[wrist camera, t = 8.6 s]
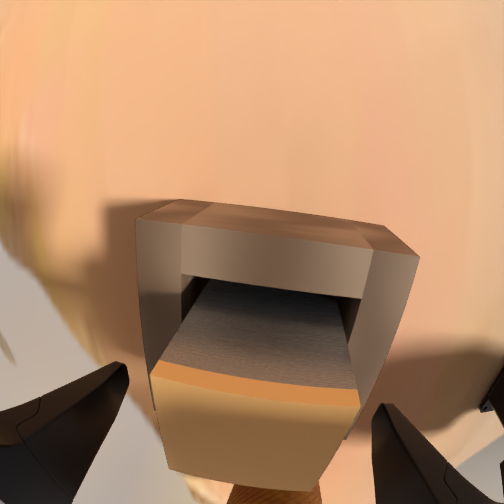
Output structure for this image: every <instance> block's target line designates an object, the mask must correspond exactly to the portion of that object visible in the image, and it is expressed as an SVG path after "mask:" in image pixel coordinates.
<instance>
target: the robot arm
mask: <svg viewBox="0 0 504 504" xmlns="http://www.w3.org/2000/svg"><path fill="white" fill-rule="evenodd" d="M128 386H129V375H128V371H127V366H126V365H125V364H124V363H121V362H117V361H115V362H112V363H110V364H108V365H106V366H104V367H102V368H100V369H98V370H96V371H94V372H92V373H90V374H88V375H86V376H84V377H81V378H79V379H77V380H75V381H73V382H71V383H69V384H67V385H65V386H62V387H60V388H58V389H56V390H54V391H51V392H49V393H47V394H45V395H43V396H41V397H38V398H36V399H34V400H31V401H29V402H27V403H24V404H22V405H19V406H16V407H13V408H10V409H7V410H4V411H0V504H72V502H73V499H74V497H75V495H76V493H77V491H78V489H79V487H80V485H81V483H82V481H83V479H84V478H85V476H86V473H87V471H88V469H89V468H90V466H91V464H92V462H93V460H94V458H95V456H96V454H97V452H98V450H99V449H100V446H101V445H102V443H103V441H104V439H105V437H106V435H107V433H108V432H109V430H110V428H111V426H112V424H113V422H114V420H115V418H116V416H117V414H118V411H119V409H120V406H121V404H122V401H123V399H124V396H125V394H126V391H127V389H128ZM479 410H480V412H481V413H483V412H488V411H493V410H494V411H495V413H496V414H497V416H498V418H499V420H500V422H501V424H502V426H503V428H504V368H503V370H502V372H501V373H500V375H499V377H498V378H497V380H496V382H495V383H494V385H493V387H492V388H491V390H490V391H489V393H488V394H487V396H486V397H485V399H484V400H483V402H482V403H481V405H480V406H479ZM372 466H373V475H374V486H375V498H376V504H504V503H498V502H495V501H493V500H491V499H490V498H488V497H487V496H486V495H485V494H483V493H482V492H481V491H479V490H478V489H477V488H476V487H475V486H473V485H472V484H471V483H470V482H469V481H468V480H466V479H465V478H464V477H463V476H462V475H461V474H460V473H459V472H458V471H457V470H456V469H455V468H454V467H453V466H452V465H451V464H450V463H449V462H447V460H446V459H445V458H444V457H443V456H442V455H441V454H440V453H439V452H438V451H437V450H436V449H435V447H434V446H433V445H432V444H431V443H430V442H429V441H428V440H427V439H426V438H425V437H424V436H423V435H422V434H421V433H420V432H419V431H418V430H417V429H416V428H415V426H414V425H413V424H412V423H411V422H410V421H409V420H408V419H407V418H406V417H405V416H404V415H403V414H402V413H401V412H400V411H399V410H398V409H397V408H396V407H395V405H394V404H392V403H381V404H380V405H379V407H378V409H377V411H376V412H375V414H374V416H373V418H372ZM500 469H501V476H502V485H503V494H504V460H503V461H502V462H501V463H500Z"/></svg>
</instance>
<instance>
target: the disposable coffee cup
mask: <svg viewBox="0 0 504 504" xmlns="http://www.w3.org/2000/svg"><path fill="white" fill-rule="evenodd" d="M227 504H322V499H321V493H320V487H319V480H318V482H317V483H316V485H315V486H314V488H313V489H312V491H311V492H307V491H289V490H277V489H267V488H258V487H251V486H244V485H238V484H234V486H233V489H232V491H231V494H230V496H229V499H228V501H227Z"/></svg>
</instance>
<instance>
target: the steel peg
mask: <svg viewBox="0 0 504 504" xmlns="http://www.w3.org/2000/svg"><path fill="white" fill-rule="evenodd" d="M150 379H151V386H152V392H153V397H154V403H155V408H156V414H157V419H158V424H159V428H160V433H161V438H162V442H163V446H164V451H165V455H166V459H167V463H168V466H169V469H171V470H175V471H178V472H182V473H186V474H190V475H194V476H198V477H202V478H206V479H211V480H216V481H221V482H226V483H232V484H238V485H244V486H251V487H258V488H267V489H277V490H289V491H307V492H311V491H312V489H313V488H314V486H315V485H316V483H317V482H318V480H319V479H320V477H321V476H322V474H323V473H324V471H325V469H326V468H327V466H328V465H329V463H330V461H331V460H332V458H333V456H334V455H335V453H336V451H337V450H338V448H339V446H340V444H341V443H342V441H343V439H344V437H345V436H346V434H347V432H348V430H349V428H350V426H351V425H352V423H353V421H354V419H355V417H356V415H357V413H358V411H359V409H360V407H361V405H360V400H359V395H358V390H357V385H356V380H355V376H354V371H353V366H352V362H351V357H350V353H349V349H348V344H347V340H346V336H345V332H344V328H343V324H342V320H341V316H340V312H339V308H338V304H337V300H336V296H334V295H326V294H318V293H310V292H303V291H295V290H287V289H280V288H273V287H266V286H258V285H252V284H245V283H238V282H231V281H225V280H218V279H212V278H211V279H210V280H209V282H208V283H207V285H206V286H205V288H204V290H203V291H202V293H201V294H200V296H199V297H198V299H197V300H196V302H195V304H194V305H193V307H192V308H191V310H190V311H189V313H188V315H187V316H186V318H185V319H184V321H183V322H182V324H181V326H180V327H179V329H178V330H177V332H176V333H175V335H174V337H173V338H172V340H171V341H170V343H169V345H168V346H167V348H166V349H165V351H164V352H163V354H162V356H161V357H160V359H159V361H158V362H157V364H156V365H155V367H154V369H153V370H152V372H151V373H150Z"/></svg>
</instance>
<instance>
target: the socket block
mask: <svg viewBox="0 0 504 504" xmlns="http://www.w3.org/2000/svg"><path fill="white" fill-rule="evenodd" d="M136 259H137V278H138V293H139V305H140V316H141V326H142V335H143V343H144V351H145V358H146V365H147V371H148V378H149V384H150V390H151V395H152V401H153V406H154V410H155V411H156V408H155V403H154V397H153V392H152V386H151V379H150V373H151V372H152V370H153V369H154V367H155V365H156V364H157V362H158V361H159V359H160V357H161V356H162V354H163V352H164V351H165V349H166V348H167V346H168V345H169V343H170V341H171V340H172V338H173V337H174V335H175V333H176V332H177V330H178V329H179V327H180V326H181V324H182V322H183V321H184V319H185V318H186V316H187V315H188V313H189V311H190V310H191V308H192V307H193V305H194V304H195V302H196V300H197V299H198V297H199V296H200V294H201V293H202V291H203V290H204V288H205V286H206V285H207V283H208V282H209V280H210V279H211V278H212V279H218V280H225V281H231V282H238V283H245V284H252V285H258V286H266V287H273V288H280V289H287V290H295V291H303V292H310V293H318V294H326V295H334V296H336V300H337V304H338V308H339V312H340V316H341V320H342V324H343V328H344V332H345V336H346V340H347V344H348V349H349V353H350V357H351V362H352V366H353V371H354V376H355V380H356V385H357V390H358V395H359V400H360V405H361V407H360V409H359V411H358V413H357V415H356V417H355V419H354V421H353V423H352V425H351V426H350V428H349V430H348V432H347V434H346V436H345V437H344V439H343V440H346V439H347V437H348V435H349V433H350V432H351V430H352V428H353V426H354V424H355V422H356V420H357V419H358V417H359V415H360V413H361V411H362V409H363V407H364V405H365V403H366V401H367V399H368V397H369V395H370V393H371V391H372V388H373V386H374V384H375V382H376V380H377V378H378V375H379V373H380V371H381V368H382V366H383V364H384V361H385V359H386V357H387V354H388V352H389V349H390V347H391V344H392V342H393V339H394V337H395V334H396V331H397V329H398V326H399V323H400V320H401V317H402V315H403V312H404V309H405V306H406V303H407V300H408V297H409V293H410V290H411V287H412V284H413V280H414V277H415V273H416V270H417V266H418V263H419V259H420V256H418V255H417V254H416V253H415V252H414V251H413V250H412V249H411V248H410V247H408V246H407V245H406V244H405V243H404V242H403V241H402V240H400V239H399V238H398V237H397V236H396V235H395V234H393V233H392V232H391V231H390V230H389V229H387V228H386V227H385V226H382V225H376V224H370V223H364V222H358V221H352V220H345V219H339V218H332V217H326V216H319V215H312V214H305V213H297V212H290V211H282V210H275V209H267V208H259V207H250V206H242V205H233V204H224V203H214V202H204V201H194V200H184V199H179V200H177V201H174V202H172V203H170V204H168V205H165V206H163V207H161V208H159V209H156V210H154V211H152V212H150V213H147V214H145V215H143V216H141V217H139V218H137V219H136Z"/></svg>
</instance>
